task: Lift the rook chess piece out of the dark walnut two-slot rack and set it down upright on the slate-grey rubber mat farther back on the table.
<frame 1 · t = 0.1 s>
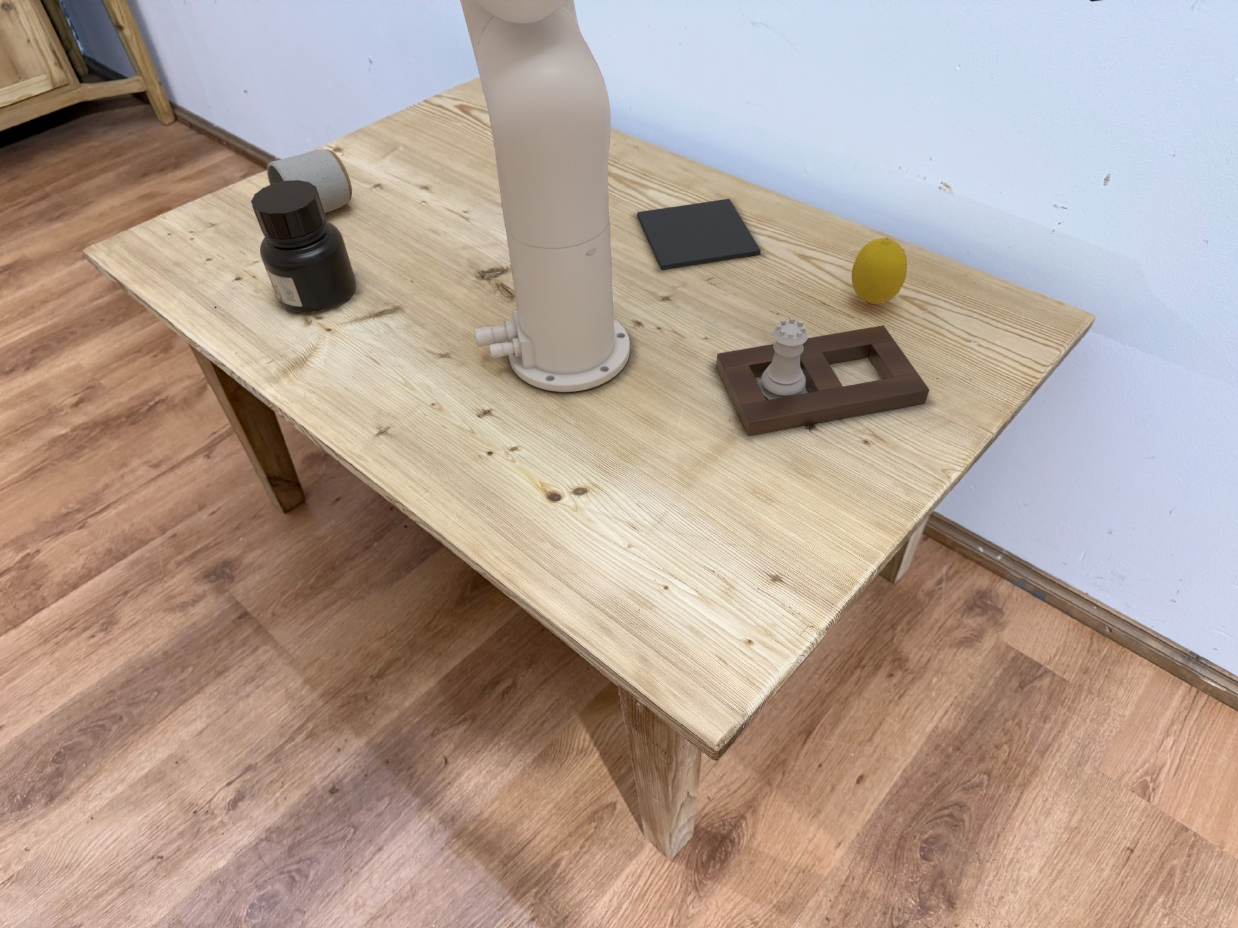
ink bottle: (318, 293, 97), on the table
rook chess piece: (781, 392, 84), resting in rack
mat: (696, 234, 103), on the table
rack: (817, 384, 84), on the table
lemon: (871, 304, 93), on the table
ceramic mug: (313, 209, 110), on the table
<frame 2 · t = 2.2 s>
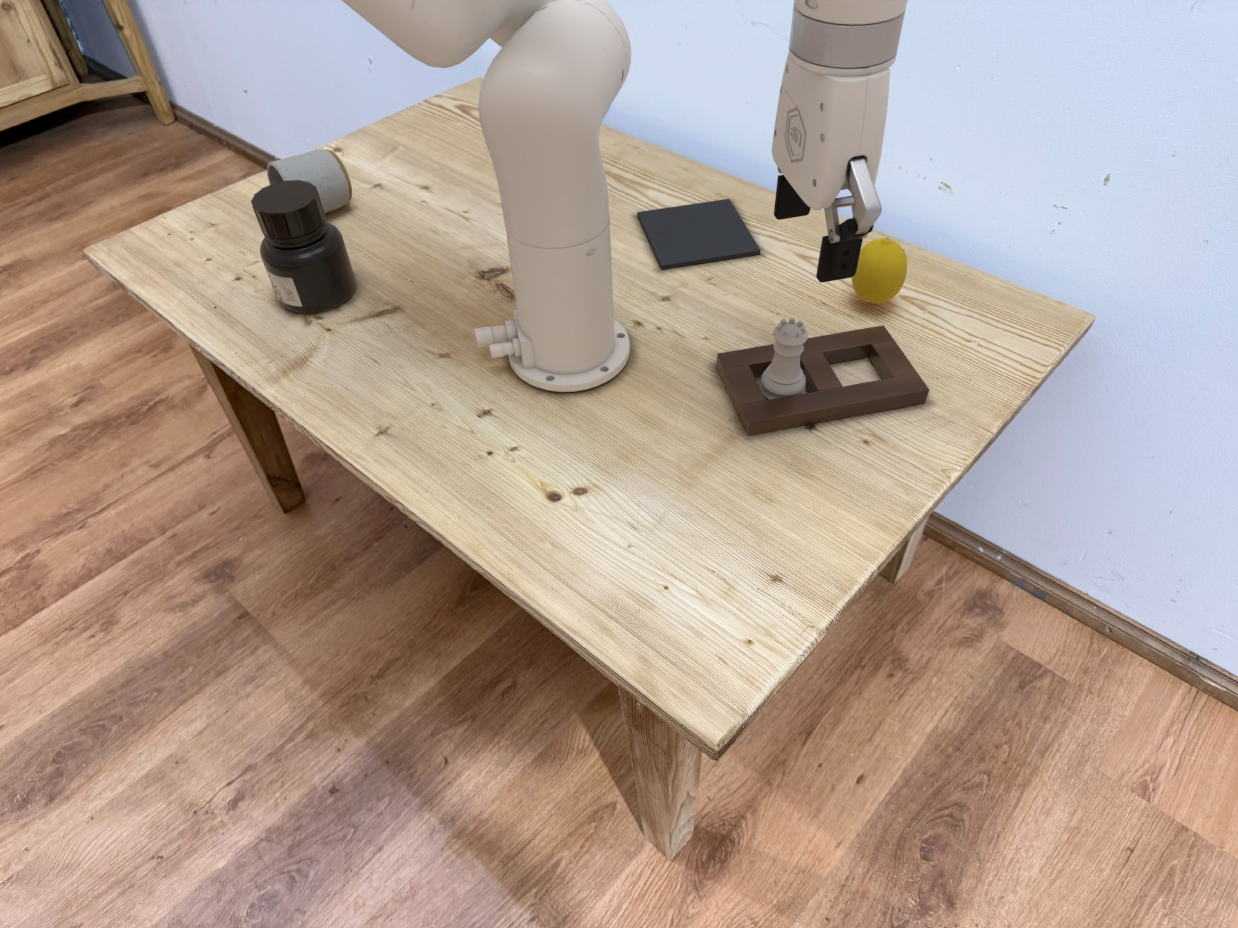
hand: (812, 245, 72), 16 cm above the table, tool pointing down, fingers open, 9 cm apart
nothing on the table moved.
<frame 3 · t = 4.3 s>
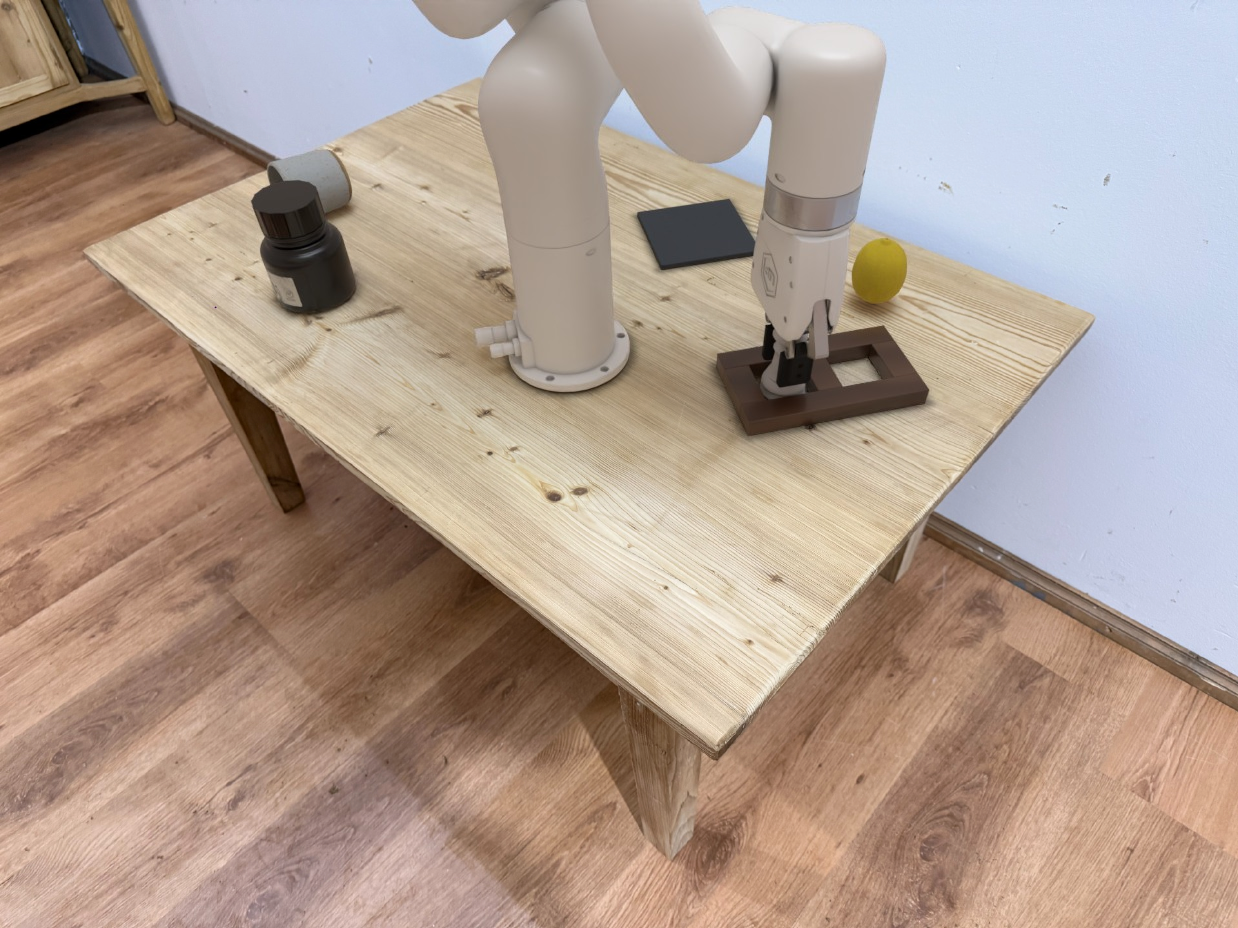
hand: (785, 368, 81), 3 cm above the table, tool pointing down, fingers closed on rook chess piece, 3 cm apart
rook chess piece: (781, 392, 84), resting in rack, touching gripper
everything else where it was.
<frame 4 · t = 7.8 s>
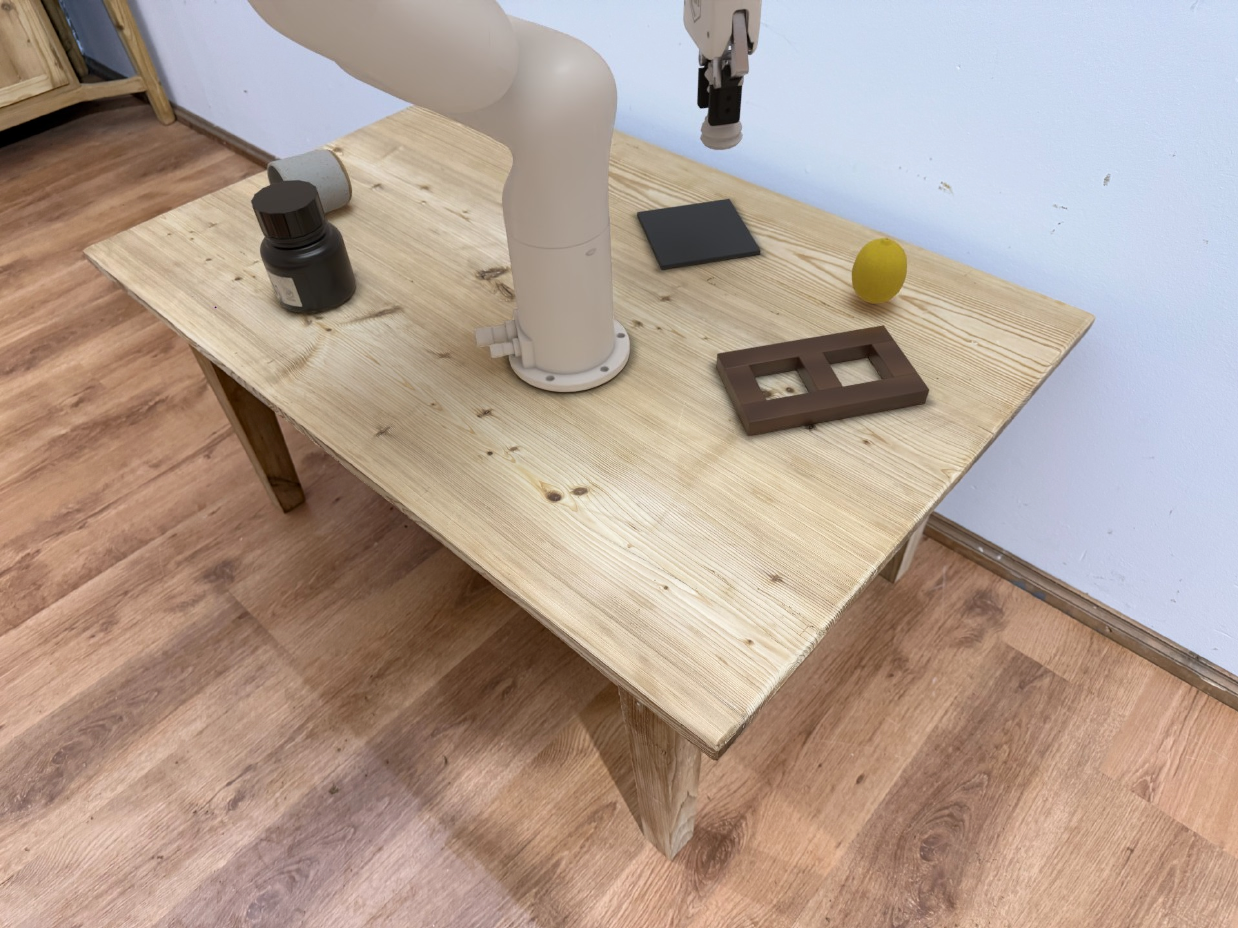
hand: (718, 113, 87), 17 cm above the table, tool pointing down, fingers closed on rook chess piece, 3 cm apart
rook chess piece: (721, 143, 89), point 14 cm above the table, touching gripper
everything else where it was.
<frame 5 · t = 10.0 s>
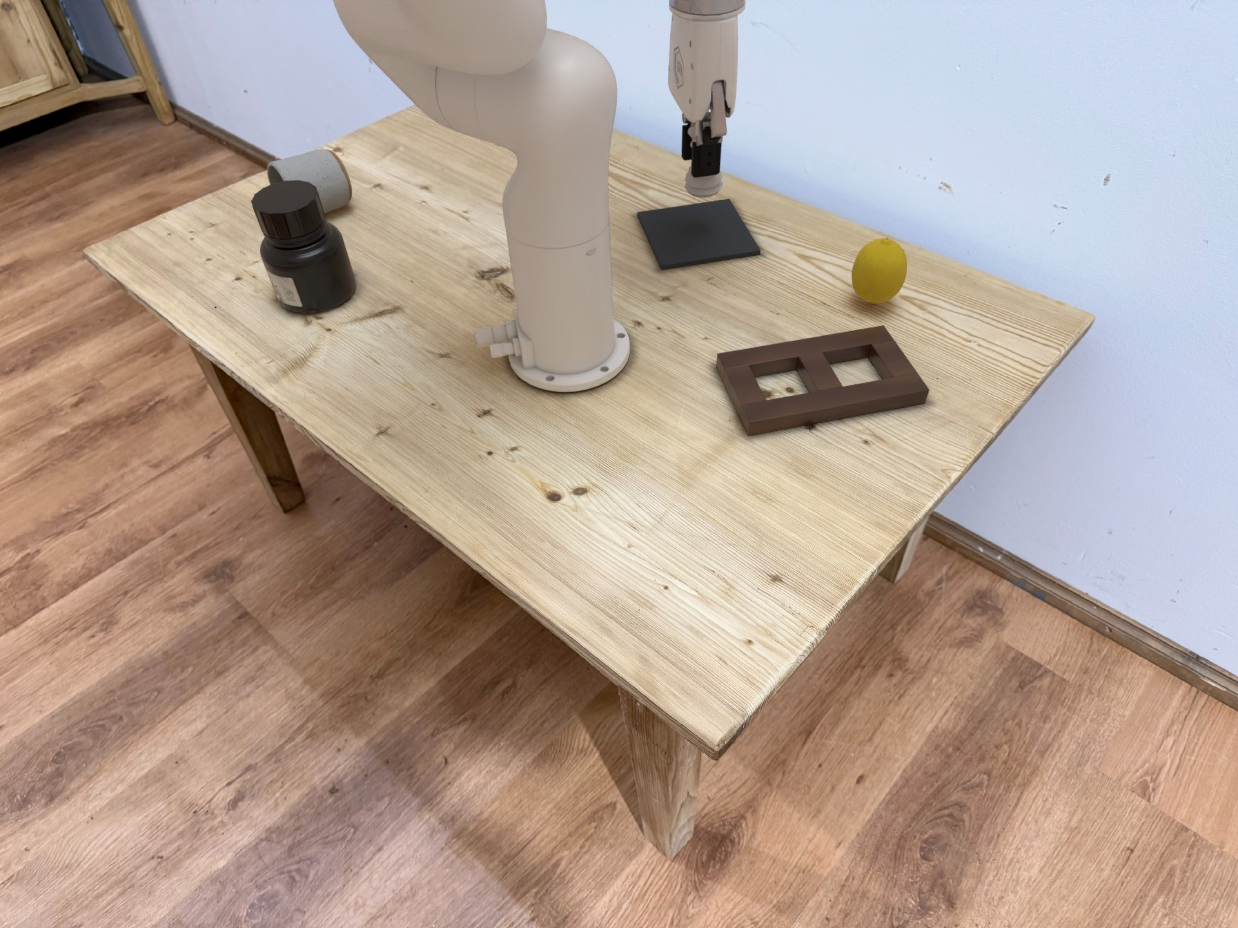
hand: (700, 165, 96), 9 cm above the table, tool pointing down, fingers closed on rook chess piece, 3 cm apart
rook chess piece: (703, 190, 99), point 6 cm above the table, touching gripper
everything else where it was.
when the fingers open (4 cm above the table, at t = 11.5 s): rook chess piece stays where it is, resting on mat.
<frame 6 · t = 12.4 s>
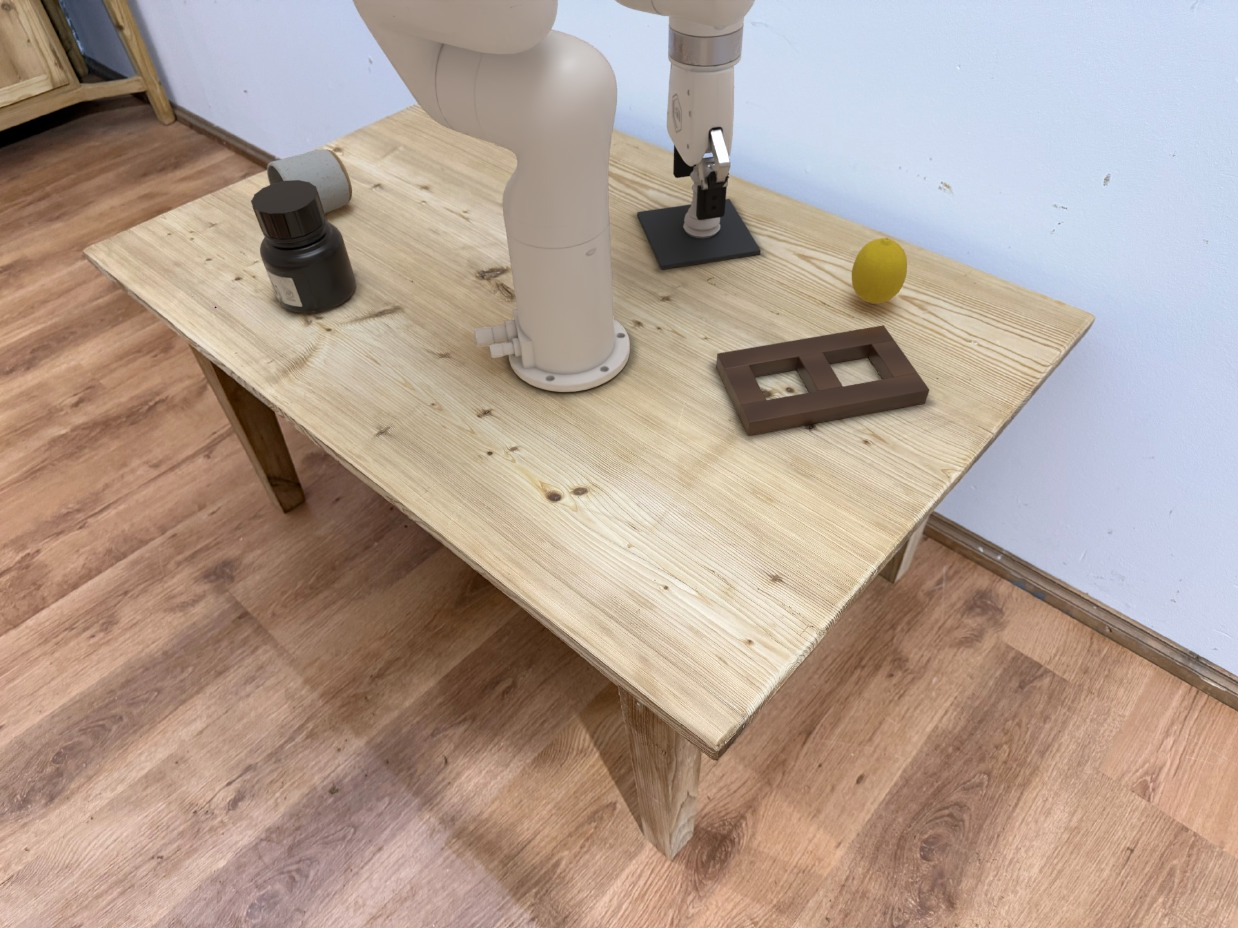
hand: (697, 195, 99), 5 cm above the table, tool pointing down, fingers open, 9 cm apart
rook chess piece: (701, 231, 103), resting on mat
everything else where it was.
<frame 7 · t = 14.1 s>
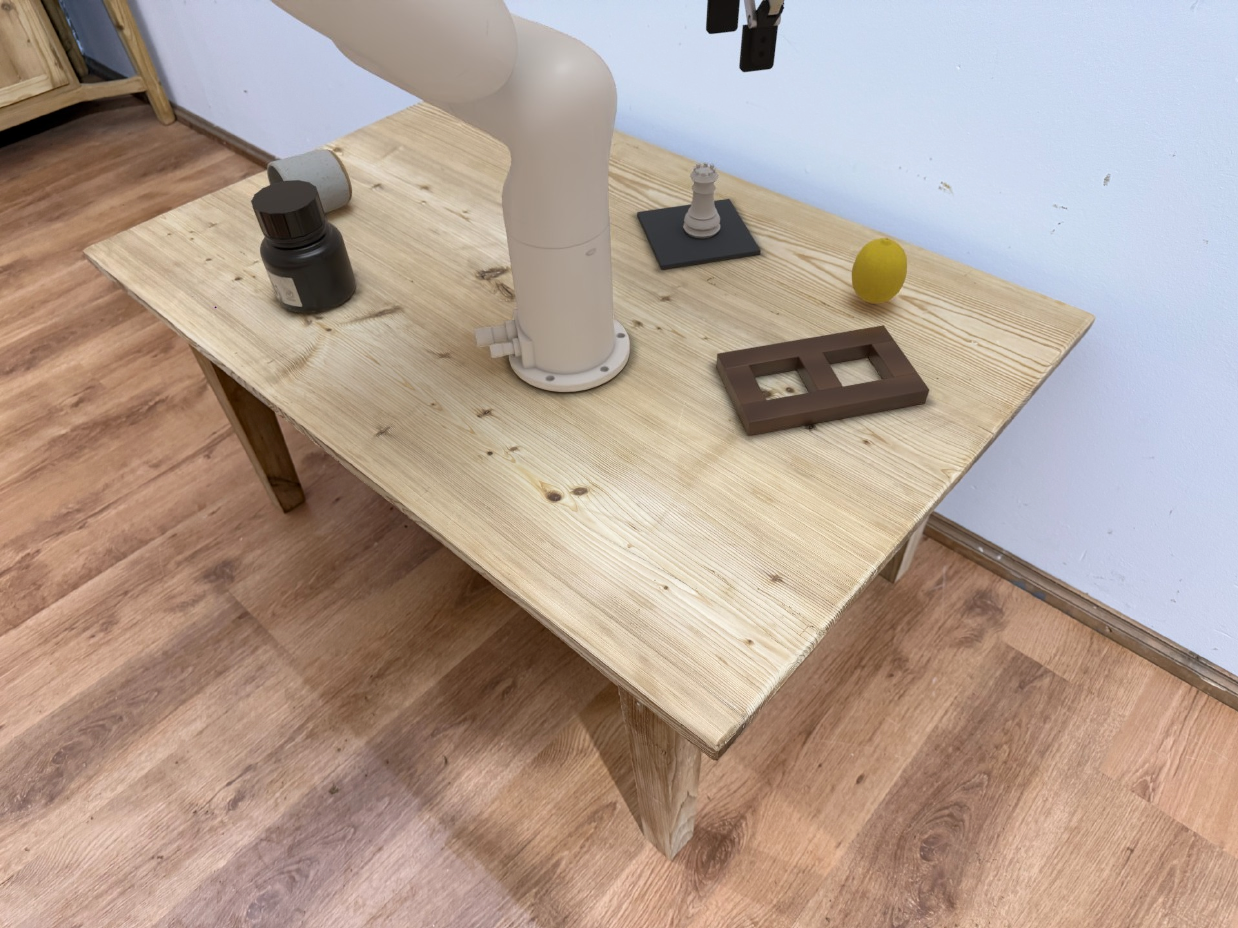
hand: (738, 50, 82), 23 cm above the table, tool pointing down, fingers open, 9 cm apart
nothing on the table moved.
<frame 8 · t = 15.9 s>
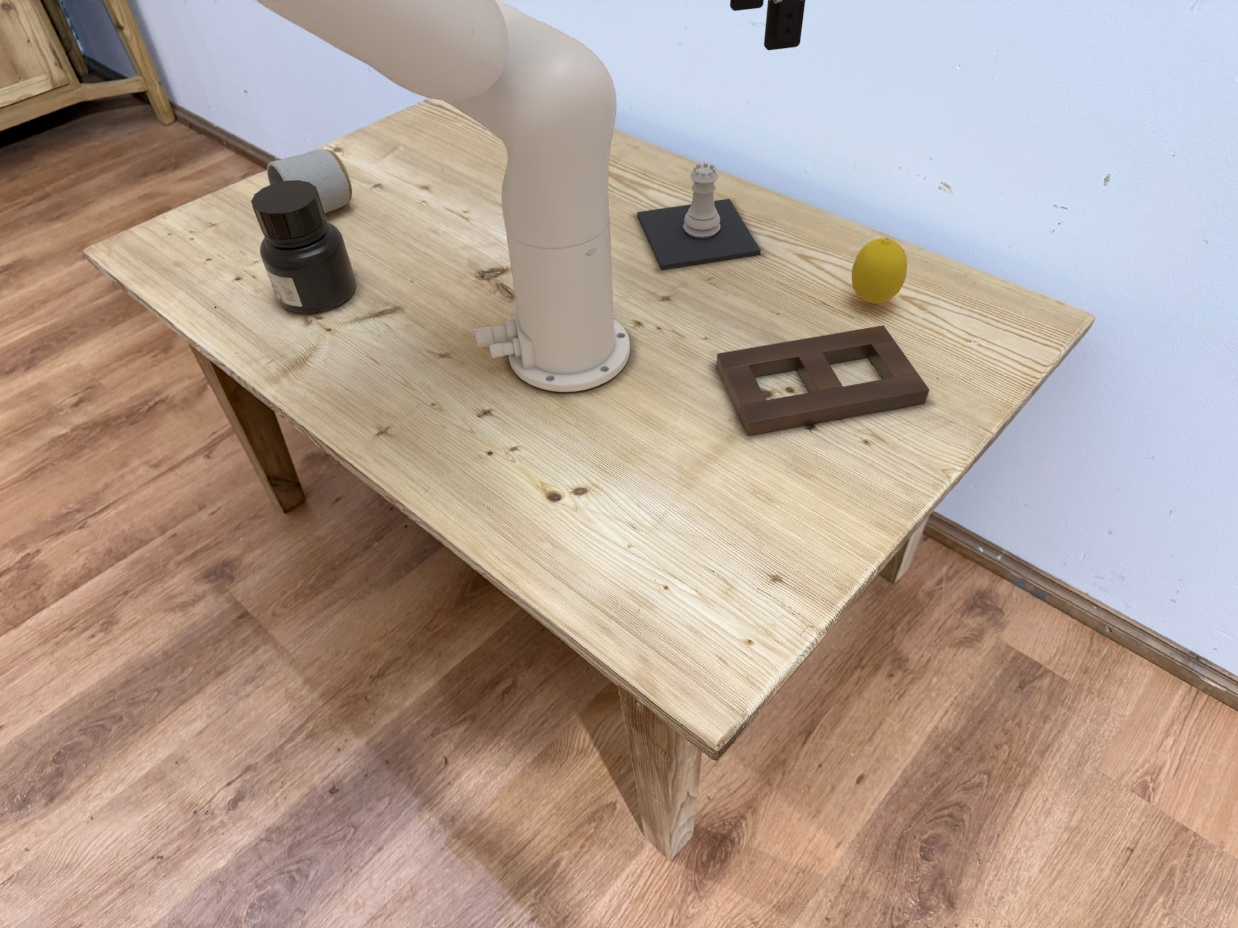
hand: (763, 27, 79), 26 cm above the table, tool pointing down, fingers open, 9 cm apart
nothing on the table moved.
at the end: rook chess piece inside the target area on the mat (0.6 cm from its centre), point 0.4 cm above the mat's base; rook chess piece tilted 0°; rook chess piece touching mat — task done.
